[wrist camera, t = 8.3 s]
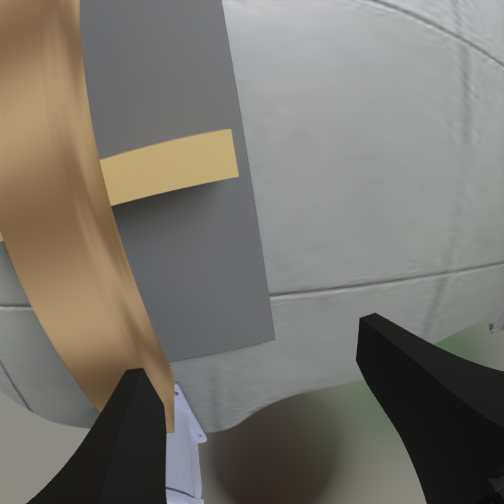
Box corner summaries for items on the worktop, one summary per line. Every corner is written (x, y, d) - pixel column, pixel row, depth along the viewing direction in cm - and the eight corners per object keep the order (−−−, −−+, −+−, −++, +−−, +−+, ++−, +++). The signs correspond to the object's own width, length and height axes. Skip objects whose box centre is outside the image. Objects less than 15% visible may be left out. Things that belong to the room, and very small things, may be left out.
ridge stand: (272, 331, 21) (289, 374, 17) (75, 365, 20) (61, 406, 16) (210, -47, 10) (216, -87, 6) (-18, 39, 9) (-55, 29, 5)
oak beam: (174, 376, 16) (174, 432, 12) (127, 382, 15) (119, 436, 12) (80, -32, 6) (49, -70, 3) (25, -5, 6) (-16, -31, 3)
